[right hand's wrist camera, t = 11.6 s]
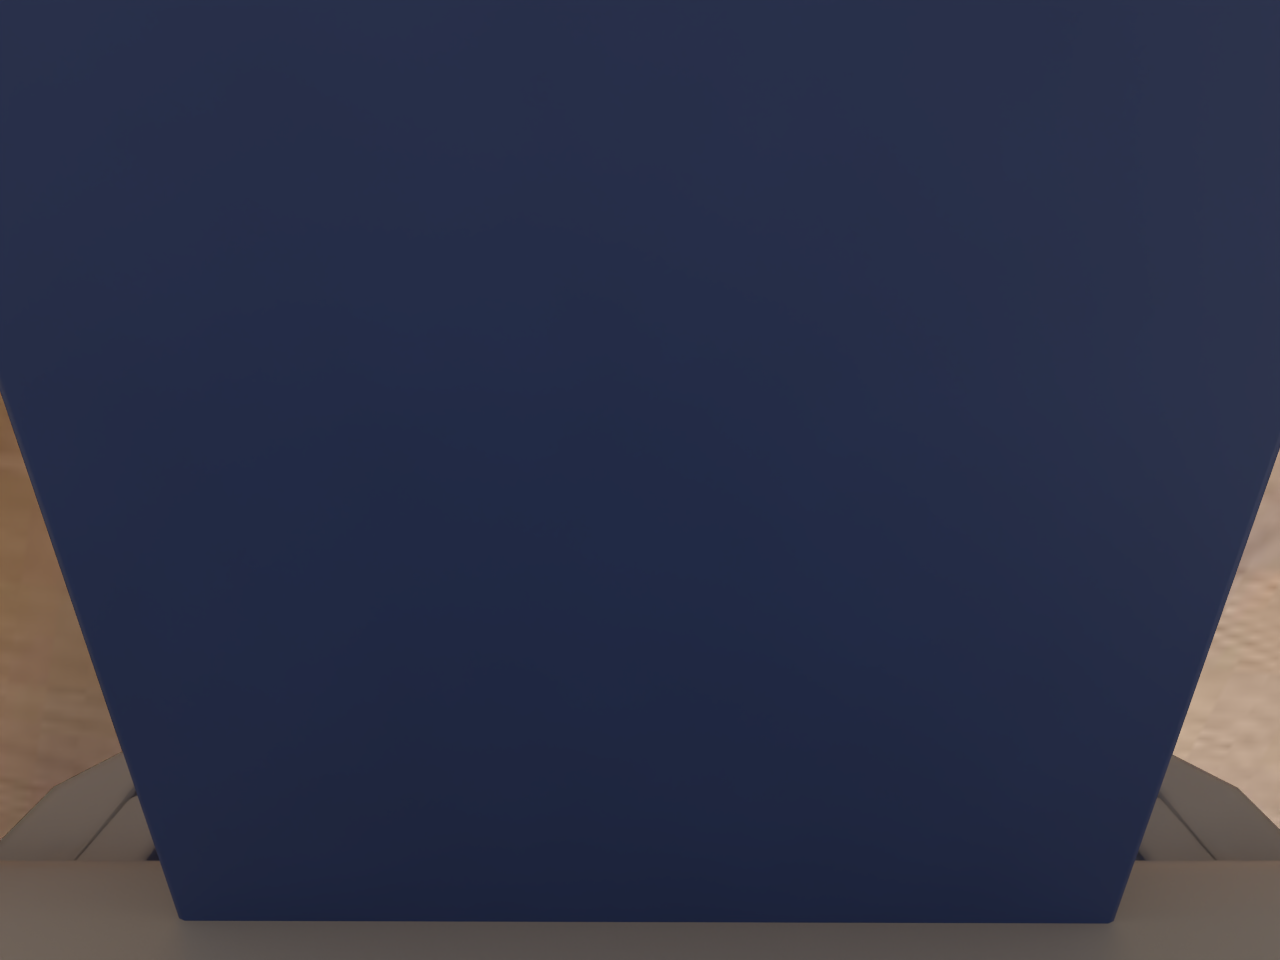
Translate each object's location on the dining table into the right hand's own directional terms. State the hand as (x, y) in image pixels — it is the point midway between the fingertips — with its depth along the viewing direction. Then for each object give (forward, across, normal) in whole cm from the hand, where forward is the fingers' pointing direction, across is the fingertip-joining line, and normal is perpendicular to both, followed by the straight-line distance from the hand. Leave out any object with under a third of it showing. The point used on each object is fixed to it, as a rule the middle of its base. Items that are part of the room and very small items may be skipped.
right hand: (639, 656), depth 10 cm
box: (+6, 0, -10) cm, 12 cm away
